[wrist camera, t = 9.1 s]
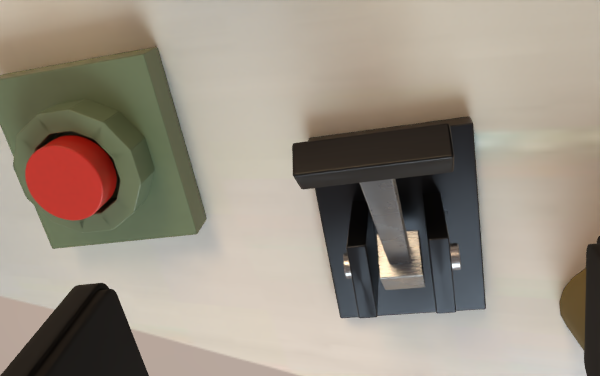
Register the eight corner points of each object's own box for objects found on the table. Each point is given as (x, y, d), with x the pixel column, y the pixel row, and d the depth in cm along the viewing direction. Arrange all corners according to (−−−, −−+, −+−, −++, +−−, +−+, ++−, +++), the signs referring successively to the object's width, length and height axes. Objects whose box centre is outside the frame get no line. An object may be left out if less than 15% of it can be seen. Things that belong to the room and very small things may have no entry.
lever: (291, 126, 18) (292, 193, 17) (446, 105, 17) (456, 175, 16) (356, 250, 32) (359, 292, 31) (446, 242, 31) (452, 285, 30)
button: (30, 140, 31) (11, 151, 29) (102, 129, 30) (86, 140, 28) (59, 210, 33) (42, 224, 31) (127, 202, 32) (114, 216, 30)
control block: (3, 74, 33) (-43, 91, 30) (157, 46, 31) (127, 62, 28) (68, 233, 38) (34, 266, 34) (207, 219, 36) (186, 251, 32)
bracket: (308, 137, 32) (292, 182, 27) (470, 115, 30) (488, 159, 25) (341, 307, 37) (333, 375, 31) (483, 297, 35) (500, 368, 29)
